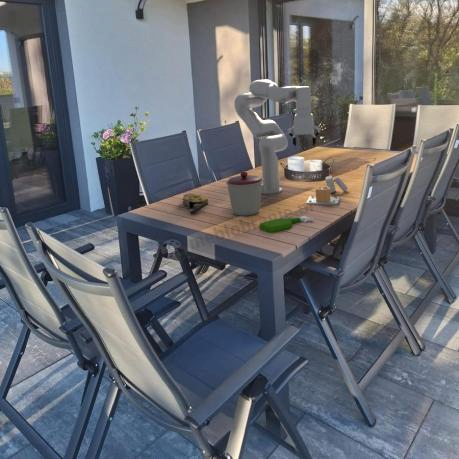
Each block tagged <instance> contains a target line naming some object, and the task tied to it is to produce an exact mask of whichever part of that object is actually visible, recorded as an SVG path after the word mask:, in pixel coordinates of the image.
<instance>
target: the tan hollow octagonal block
mask: <svg viewBox="0 0 459 459" xmlns="http://www.w3.org/2000/svg"><path fill="white" fill-rule="evenodd" d="M320 188H326V189H320ZM315 196H316V200H317V201H329V200H330V197H331V193H330V187H327V186H318V187H316V188H315Z"/></svg>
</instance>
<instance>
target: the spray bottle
mask: <svg viewBox="0 0 459 459" xmlns="http://www.w3.org/2000/svg"><path fill="white" fill-rule="evenodd" d="M314 221H315V219H314V218H312V217H309V216H305V215H301V216H299V217H286V218H285V217H284V218H283V217H282V218H276V219H271V220H267V221H262V222H260V223H259V229H260V230H262V231H265V232H266V233H269V234H272V233H278V232H281V231H286V230H290V229H291V228H292V226H293V224H298V223H301V222H303V223H306V222H314Z"/></svg>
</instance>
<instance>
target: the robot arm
mask: <svg viewBox="0 0 459 459" xmlns="http://www.w3.org/2000/svg"><path fill="white" fill-rule="evenodd" d="M248 90H249V92H245V93H240V94H238V95H237V96H236V97H235V99H234V104H233V105H234V110H235V113H236V114H237V116H238V117H239V118H240V119H241V120H242V121H243V123H244V124H245V126H246V127H247V128H248V130H249V132H251V134H252V136H253V137H254V138H255V139H258V140H259V142H258V148H259V152H260V159H261V160H260V161H261V174H262V175H261V176H262V179H263V182H262V187H261V194H265V195H272V194H273V195H274V194H279V193H282V192H283V188H282V187H280V165H279V158H278V156H277V154H276V153H278V152H283V151H284V150H286V149H287V148H288V145H289V142H288V138H287V136H286V135H285V134H284V131H283V130H282V129H281V128H280V126H279V125H278V123H277V122H275V121H274V120H272V119H265V120H263V119H261V117H260V116H259V115H258V114H257V113H256V112H255V111H254V110H252V108H259V107H261V106H263V105H264V104H265V102H266V101H267V100H268V99H269V100H270V101H272V102H276V103H282V104H283V103H290V102H295V109H293V110H292V113H295V114H294V117H293V126H292V127H290V128H288V129H287V130H286V131H287V133H288V134H289V136H290V137H291V139H292V144H293V146H294V147H296V146H297V136H298V135H299V136H301V135H303V136H305V135H306V136H307V135H311V136H312V146H315V145H316V144H317V136H319V134H320V133H321V130H322V127H319V126H317V125H315V122H314V115H313V113H312V98H311V95H312V92H311V87H310V86H308V85H306V86H305V85H303V86H299V85H292V86H283V87H282V86H281V87H280V86H278V84H277V83H276V82H274V81H272V80H270V79H257V80H254V81H252V82H251V83H250V84H249V87H248ZM315 130H317V132H316V133H315ZM292 131H293V133H292Z"/></svg>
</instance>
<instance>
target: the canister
mask: <svg viewBox="0 0 459 459" xmlns="http://www.w3.org/2000/svg"><path fill="white" fill-rule="evenodd" d="M248 174H249V173H248V172H247V171H241V172H240V175H238V176H233V177H230V178H229V179H227V181H225V184H226V185H227V190H228V194H229V200H230V204H231V209H232V212H233V214H235V215H237V216H243V217H244V216H245V217H247V216H248V217H249V216H252V215H256V214H258V213H259V211H260V209H261V203H262V202H261V200H262V193H261V187H262V184H263V178H261V177H260V176H258V175H251V174H249V175H248Z"/></svg>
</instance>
